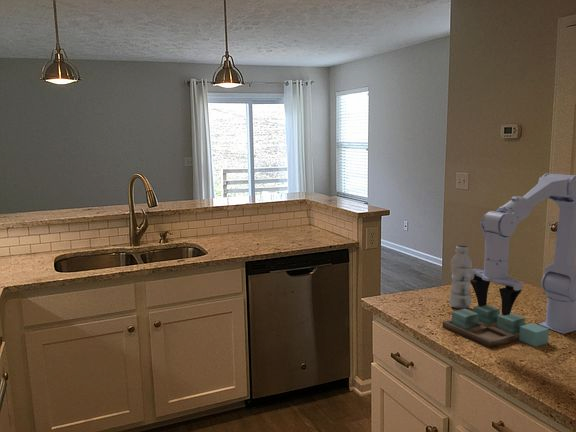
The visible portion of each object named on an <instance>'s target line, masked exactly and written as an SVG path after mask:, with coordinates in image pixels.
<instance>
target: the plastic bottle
mask: <svg viewBox="0 0 576 432" xmlns="http://www.w3.org/2000/svg"><path fill="white" fill-rule="evenodd" d="M472 269H473V261H472V259H471V257H470V256H469V246H468V245H463V244H460V245H456V246H455V254H454V255H453V256H452V258H451V260H450V270H451V272H450V273H451V285H450V286H451V288H450V293H449V297H448V300H449V305H450V306H451V307H452V308H455V309H458V310H461V309H469V308H470V307H471V304H472V296H471V283H470V280H471V270H472Z"/></svg>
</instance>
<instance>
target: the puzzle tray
mask: <svg viewBox="0 0 576 432" xmlns="http://www.w3.org/2000/svg"><path fill="white" fill-rule="evenodd" d="M500 311H501V310H500V308H498V307H495V306H492V305H491V304H488V303H486V305H485V306H481V307H480V306H478V305H475V306H473V311H472V310H470V309H468V308H466V309H457V310H454V311H451V319H447V320H443V321H442V328H445V329H447V330H449V331H451V332H453V333H455V334H458V335H460V336H463V337H465V338H467V339H469V340H470V341H473V342H475V343H478V344H480V345H482V346H484V347H485V348H486V347H487V348H489V349H492V348H495V347H499V346H502V345H505V344H509V343H513V342H515V341H516V342H517V341H520V340H519V331H520V326H523V325H526V318H525V317H523V316H520V315H518V314H515V313H512V312H510V314H509V315H505V316H504V315H502V314H500Z"/></svg>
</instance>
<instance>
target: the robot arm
mask: <svg viewBox="0 0 576 432" xmlns="http://www.w3.org/2000/svg"><path fill="white" fill-rule="evenodd" d="M546 199H550V200H551V201H552V202H554V203H555V204H556V205H557V206H558V207H559V208H558V209H559V210H558V211H559V213H558V222H557V228H556V229H557V231H556V239H555V240H556V241H555V248H554V256H553V262H552V263H551V264H548V265H547V266H545V267H544V273H543V276H542V277H541V282H540V285H541V289H542V291H544V295H545V296H547V298H546V311H545V313H546V314H545V320H544V321H543V322H538V325H539V326H542V327H545V328H548V329H549V330H552V331H554V332H557V333H560V334H567V333H571V332H575V331H576V174H564V173H551V172H546V173H544V174H543V175H542V176H540V177H539V178H538V181H537V184H535V185H534V187H532V188H531V189H530V190H529V191H528V192H527V193H526V194H524V195H523V196H519V195H518V196H515V195H514V196H512V197H511V198H510V200H509V201H507V202H506V203H504V204H503V205H501V206H499V207H498V209H496V210H495V211H494V210H489V211H488V212H486V213H485V214H484V215H483V216H482V218H481V221H480V222H479V223H480V228H481V231H482V233H483V235H482V236H483V239H484V259H483V260H484V261H483V269H479V268H472V270H471V275H470V278H473V279H470V286H472V288H473V290H474V293H475V297H476V301H477V306H480V307H481V306H485V305H486V304H487V302H488V291H489V287H490V285H491V283H494V284H497V285H500V286H503V287H501V288H498V289H499V294H500V298H501V315H504V316H505V315H509V314H510V313H512V312H511V311H512V308H513V306H514V304H515V302H516V300H517V298H518V297H519V295H520V294H521V292H522V290H523V281H520V280H518V279H516V278H513V277H512V276H509V260H510V259H509V257H510V241H511V240H510V237H511V236H512V235H513V234H514V233H515V231H516V229H517V226H519V223H521V222H522V221H523V220H524V219H526V218H528V217H529V216H530V215H531V214H532V212H533V207H535V206H536V205H539V204H540V203H542V202H543V201H545V200H546Z"/></svg>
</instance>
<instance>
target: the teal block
mask: <svg viewBox="0 0 576 432" xmlns="http://www.w3.org/2000/svg"><path fill="white" fill-rule="evenodd" d="M549 333H550V329H548V328H546V327H543V326H540V325H539V324H537V323H533V322H531V323H528V324H525V325H523V326H520V331H519V340H518V341H520V342H523V343H525V344H528V345H530V346H532V347H535V348H536V347H538V346H539V347H540V346H542V345H545V344H549Z"/></svg>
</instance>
